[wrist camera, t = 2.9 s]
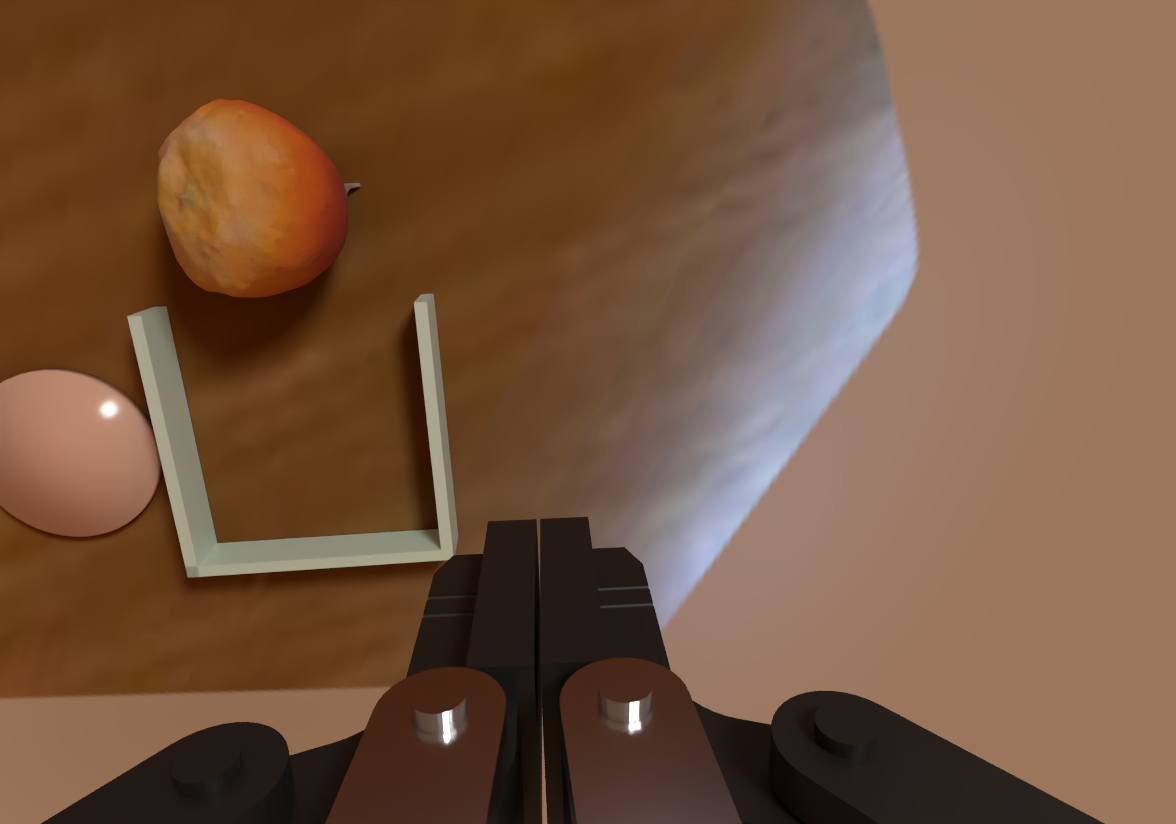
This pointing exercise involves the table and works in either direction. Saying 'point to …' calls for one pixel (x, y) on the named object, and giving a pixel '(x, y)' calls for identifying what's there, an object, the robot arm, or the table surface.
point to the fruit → (249, 201)
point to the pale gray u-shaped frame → (294, 553)
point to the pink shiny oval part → (74, 453)
